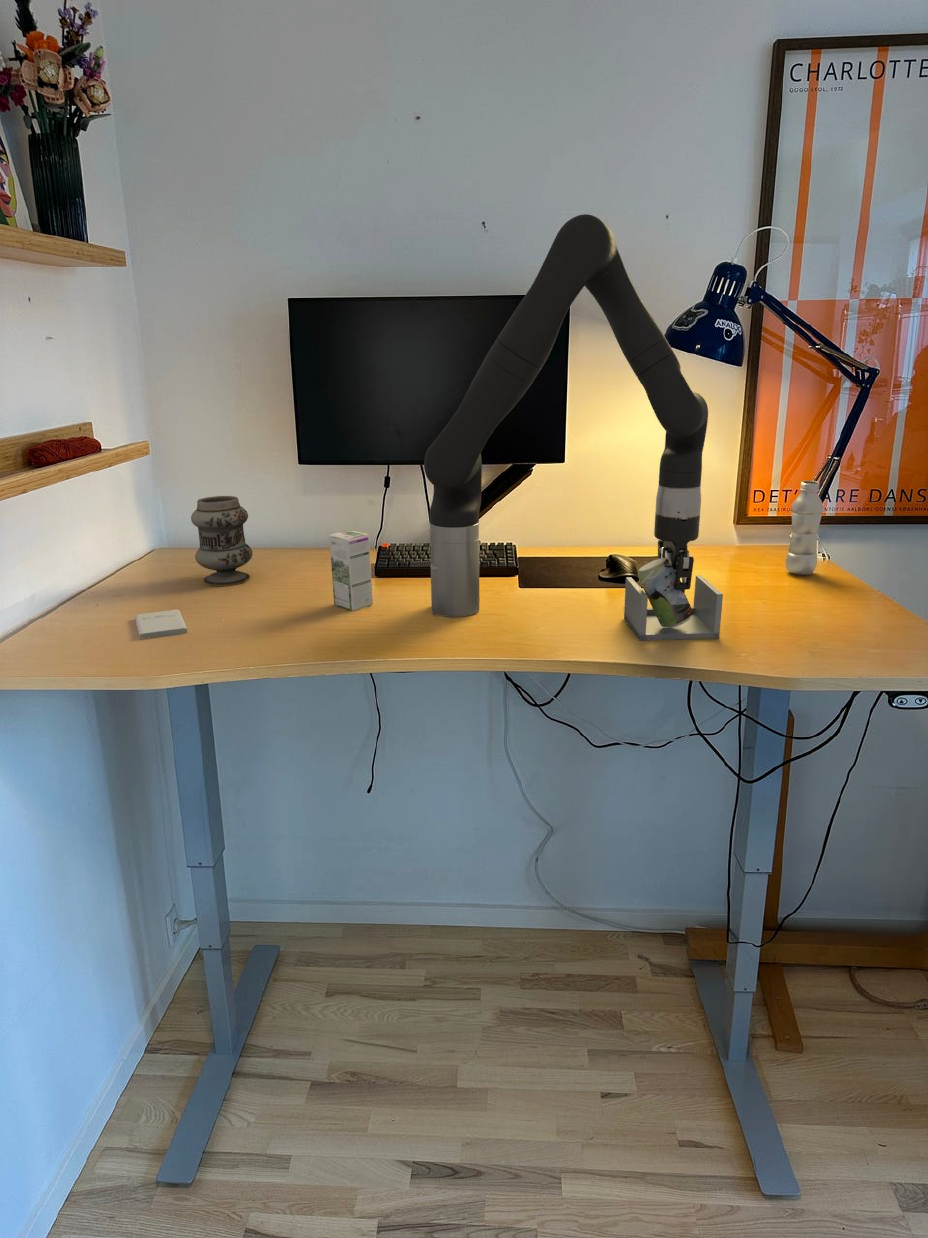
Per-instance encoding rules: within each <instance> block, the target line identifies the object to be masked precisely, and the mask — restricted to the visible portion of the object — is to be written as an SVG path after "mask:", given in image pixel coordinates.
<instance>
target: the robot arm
mask: <svg viewBox="0 0 928 1238" xmlns="http://www.w3.org/2000/svg"><path fill="white" fill-rule="evenodd" d="M584 287H585V288H586V290H588V292H589V293H590V294H591V296H592V297H594V300H595V302H596V303H597V304H598V305H599V307H600V309H601V310H602V312H603V314H604V316H605V317H606V319H607V322H608V323H609V326H610V329H611V330H612V331H611V332H613V335H614V338H615V339H616V342H617V344H618V346H619V348H620V350H621V352H622V354H623V356H624V358H625V359H626V361H627V362H628V364H629V366H630V368H631V370H632V372H633V373H634V375H635V376H636V378H637V380H638V381H639V382H640V384H641V385H642V387H643V389H644V391H645V393H646V396H647V398H648V400H649V403H650V405H651V408H652V410H653V413H654V415H655V417H656V418H657V421H658V422H659V424H660V425H661V427H662V428H663V429H664V430H665V439H664V440H665V441H664V449H663V452H662V454H661V457H660V460H659V461H660V463H659V470H658V471H659V474H658V488H657V492H656V496H655V497H656V499H655V511H654V512H655V515H654V528H653V529H654V531H653V532H654V533H653V534H654V535H653V536H654V537H655V538H656V539H657V559H659V558H665V560H666V561H668V562H669V563H670V564H671V565H672V567H673V569H674V571H675V575H676V576H675V585H674V588H675V590H681V591H682V592H683V594H684V593H685V592H686V591H687V590H690V589H691V585H692V576H693V569H694V562H695V560H694V556H690V551H689V549H688V543H690V542H695V541H696V540H697V539H698V538H699V533H700V521H701V509H702V508H701V507H702V506H701V505H702V493H701V491H702V490H701V485H702V470H703V451H704V447H705V441H706V440H705V439H706V435H707V429H708V421H709V408H708V404H707V402H706V399H705V398H704V396H702V395H701V394H700V393H699V392H696V391H692V389H691V386H690V385H689V384H688V382H687V380H686V378H685V377H684V375H683V373H682V371H681V367H682V366H681V364H680V362H679V359H678V356H677V355H676V353H675V352H674V350H673V348H672V347H671V345H670V344H669V340H667V338H666V336H665V334H664V333H663V331H662V330H661V327H660V326H659V325H658V324H657V322H656V321H655V318H653V316H652V314H651V313H650V312H649V310H648V308H647V307H646V305H645V304H644V302H643V301H642V299H641V297H640V296H639V294H638V292H637V290H636V289H635V286H634V284H633V283H632V280H631V278H630V277H629V274H628V272H627V270H626V268H625V264H624V263H623V259H622V256H621V254H620V252H619V249H618V246H617V242H616V237H615V235H614V232H613V231H612V230H611V229H610V227H609V226H608V225H607V224H606V223H605V222H604V221H603V220H601V218H600V217H598V216H596V215H593V214H587V213H586V214H585V213H584V214H579V215H576V216H574V217H571V218H570V219H569V220H567V221H566V222H565V223H564V224H563V225H562V226H561V228H560V229H559V230H558V232H557V233H556V235H555V237H554V240H553V242H552V244H551V246H550V247H549V250H548V253H547V255H546V257H545V259H544V260H543V262H542V265H541V267H540V269H539V270H538V273H537V275H536V277H535V279H534V281H533V283H532V284H531V286H530V288H529V289H528V291H527V292H526V294H525V295H524V297H523V298H522V299H521V301H520V302H519V304H518V305H517V306H516V308H515V310H514V311H513V313H512V315H510V317H509V319H508V320H507V322H506V324H505V325H504V327H503V328H502V329H501V331H500V333H499V334H498V336H497V338H496V339H495V341H494V343H493V344H492V346H491V347H490V349H489V351H488V352H487V354H486V356H485V357H484V360H483V361H482V363H481V365H480V366H479V368H478V370H477V372H476V373H475V375H474V377H473V380H472V381H471V383H470V385H469V387H468V389H467V391H466V393H465V395H464V398H463V399H462V401H461V403H460V404H459V406H458V409H457V410H456V411H455V413H454V414H453V416H452V417H451V418H450V420H449V421H448V422H447V424H446V425H445V427H444V428H443V429H442V431H440V433H439V434H438V435H437V437H436V438H435V440H434V441H433V442H432V443H431V444H430V446H428V449H427V450H426V452H425V455H424V462H423V466H424V467H423V468H424V473H425V477H426V478H427V480H428V481H429V483H431V485H433V495H432V500H431V505H430V508H429V536H430V537H429V541H430V543H429V545H430V561H429V562H430V594H431V595H430V596H431V597H430V598H431V601H430V602H431V603H430V604H431V615H433V616H442V617H451V618H452V617H454V618H456V617H457V618H458V617H467V616H471V615H475V614H477V613H479V611H480V601H481V600H480V510H481V504H482V486H483V484H482V480H483V477H482V476H483V469H482V468H483V465H482V464H483V463H482V454H481V453H482V451H483V449H484V447H485V446H486V443H487V442H488V440H489V439H490V438H491V435H492V434H493V433H494V431H495V429H496V428H497V427H498V426H499V424H500V423H501V422H502V421H503V420H504V418H506V416H507V415H509V413H510V412H511V411H512V410H513V409H514V408H515V406H516V405H517V404H518V403H519V402H520V401H521V399H522V398H523V396H524V395H525V394H526V392H528V390H529V389H530V387H531V385H533V383H534V381H535V379H536V378H537V377H538V376H539V375H538V374H539V373H540V372H541V370H542V368H543V367H544V365H545V363H546V362H547V360H548V359H549V356H550V354H551V351H552V350H553V348H554V344H555V342H556V340H557V337H558V335H559V332H560V329H561V326H562V324H563V322H564V318H565V316H566V314H567V312H568V310H569V309H570V307H571V306H572V305H573V303H574V301H575V299H576V298H577V297H578V296H579V294H580V292H581V291H582V290H583V289H584ZM680 581H681V582H680ZM685 594H686V593H685Z"/></svg>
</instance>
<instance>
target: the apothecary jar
mask: <svg viewBox="0 0 928 1238" xmlns="http://www.w3.org/2000/svg"><path fill="white" fill-rule="evenodd" d="M190 519H191V523H192V524H193V526H195V527H197V531H198V538H199V540H198V541H199V548H198V549H197V550H196V552H195V555H194V557H195V561H196V562H197V564H198V565H200V566H201V567H202V568H205V569H207V570H211V571H215V572H213V573H210V574H209V575H207V576H205V577H204V579H203V584H204V585H206V586H209V587H227V586H228V587H230V586H235V585H240V584H243V583H246V582H247V581H249V580H250V578H251V577H250V575H249V573H247V572H244V571H240V570H236V569H238V568H240V567H243V566H244V565H246V564H247V563H249V561H250V560H251V559H252V557H253V550H252V547H250V545H248V544H247V543H246V538H245V532H244V524H245V523H246V522H247V521H248V519H249V514H248V511H247V510H246V509H245V508H244V507H243V506H241V504H240V502H239V498H238V497H237V496H236V495H235V496H233V495H216V496H215V495H213V496H208V497H203V498H199V499H197V501H196V509H195V510H194V511H193V512H192V514H191V516H190Z"/></svg>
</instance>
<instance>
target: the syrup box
mask: <svg viewBox="0 0 928 1238" xmlns="http://www.w3.org/2000/svg"><path fill="white" fill-rule="evenodd" d="M328 537H329V538H328V539H329V549H330V550H329V551H330V563H331V577H332V578H331V579H332V591H333V592H332V593H333V605H334V606H336V607H338V608H339V607H340V608H342V609H345V610H349V611H356V610H357V611H358V610H361V609H364V608H368V607H370V606H373V605H374V598H373V597H374V596H373V584H372V567H371V566H372V564H371V548H370V547H371V546H370V534H368V533H364V532H359V531H357V530H356V531H355V530H351V529H349V530H342V531H337V532H335V533H333V534H329V536H328Z"/></svg>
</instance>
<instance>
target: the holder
mask: <svg viewBox="0 0 928 1238" xmlns="http://www.w3.org/2000/svg"><path fill="white" fill-rule="evenodd" d="M624 587H625V591H624V612H623V620H624V621H625V622H626V624H627V625H628V627H629V628H630V630H631V631H632V632H633V633H634V634H635V636H636V637H637V639H638V640H639V641H668V640H669V641H670V640H672V641H673V640H674V641H675V640H702V639H704V640H705V639H708V640H709V639H720V635H721V634H720V633H721V632H720V631H721V621H722V611H723V599H724V594H723V592H721V591H720V590H719V589H718V588H716V586H714V585H713V584H712V583H711V582H709V580H707V579H706V578H705V577H704V576H703V575H702V574H701V575H695V581H694V595H693V596H694V597H693V606H691V608H692V610H693V613H692V615H691V618H690V619H689V620H688V621H687V622H685V623H683V624H682V625H679V626H677V627H673V628H667V627H663V626H661V625H660V623H659V621H658V619H657V616H656V614H655V612H654V610H653V608H652V607H648V603H649V599H648V596H647V595H646V593H645V591H644V589H643V588H642V587H641V586H640V585H639V584H638V583H637V581H635V579H633V578H632V577H629V576H627V577H625V585H624Z"/></svg>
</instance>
